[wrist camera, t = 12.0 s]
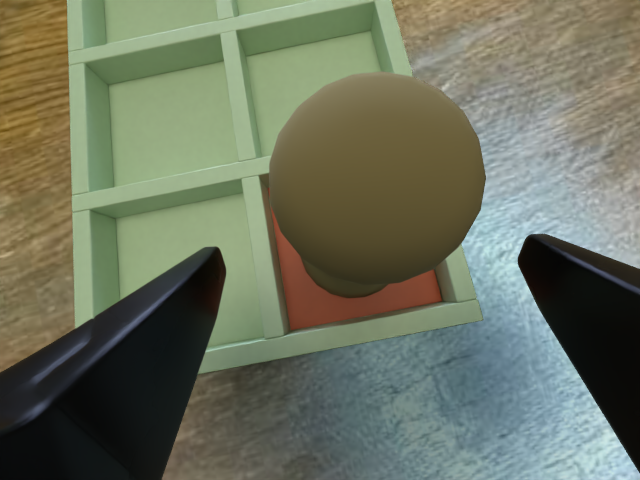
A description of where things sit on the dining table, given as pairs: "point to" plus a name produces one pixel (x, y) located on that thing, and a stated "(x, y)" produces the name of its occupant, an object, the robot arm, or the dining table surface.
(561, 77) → the dining table surface
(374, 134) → the cork
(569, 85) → the dining table surface
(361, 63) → the grid
